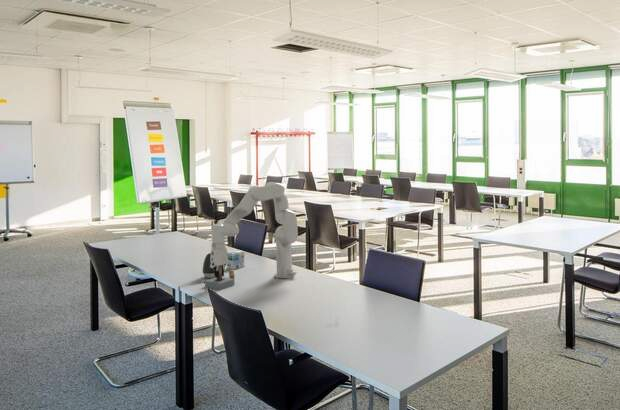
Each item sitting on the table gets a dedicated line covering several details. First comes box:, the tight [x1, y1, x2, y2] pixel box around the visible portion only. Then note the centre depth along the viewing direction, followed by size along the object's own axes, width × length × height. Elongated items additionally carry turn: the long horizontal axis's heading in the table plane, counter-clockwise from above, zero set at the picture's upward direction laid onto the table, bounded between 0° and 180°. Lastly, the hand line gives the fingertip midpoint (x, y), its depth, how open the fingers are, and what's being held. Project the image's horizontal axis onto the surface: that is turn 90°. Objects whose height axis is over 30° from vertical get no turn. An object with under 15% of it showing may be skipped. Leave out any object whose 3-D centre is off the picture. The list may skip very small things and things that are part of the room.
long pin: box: [215, 265, 223, 281], centre depth 286 cm, size 3×3×11 cm
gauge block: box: [204, 276, 235, 291], centre depth 287 cm, size 12×12×4 cm
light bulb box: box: [226, 249, 245, 270], centre depth 331 cm, size 11×7×11 cm, turn 143°
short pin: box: [228, 269, 235, 280], centre depth 303 cm, size 3×3×5 cm
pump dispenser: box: [202, 252, 216, 279], centre depth 306 cm, size 10×10×15 cm
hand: (219, 276), depth 286 cm, fingers closed on long pin, 3 cm apart
